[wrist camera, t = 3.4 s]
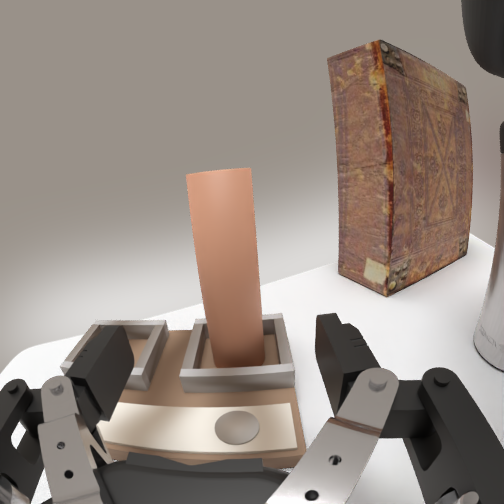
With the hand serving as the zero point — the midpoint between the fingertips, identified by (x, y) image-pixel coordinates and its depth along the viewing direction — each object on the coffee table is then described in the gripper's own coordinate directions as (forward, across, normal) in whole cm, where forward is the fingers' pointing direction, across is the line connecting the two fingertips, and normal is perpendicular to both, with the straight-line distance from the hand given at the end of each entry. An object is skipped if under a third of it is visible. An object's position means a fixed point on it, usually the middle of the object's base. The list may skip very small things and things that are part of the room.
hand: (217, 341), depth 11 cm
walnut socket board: (+6, +5, +9) cm, 12 cm away
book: (+27, -27, +10) cm, 39 cm away
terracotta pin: (+8, 0, +8) cm, 11 cm away
